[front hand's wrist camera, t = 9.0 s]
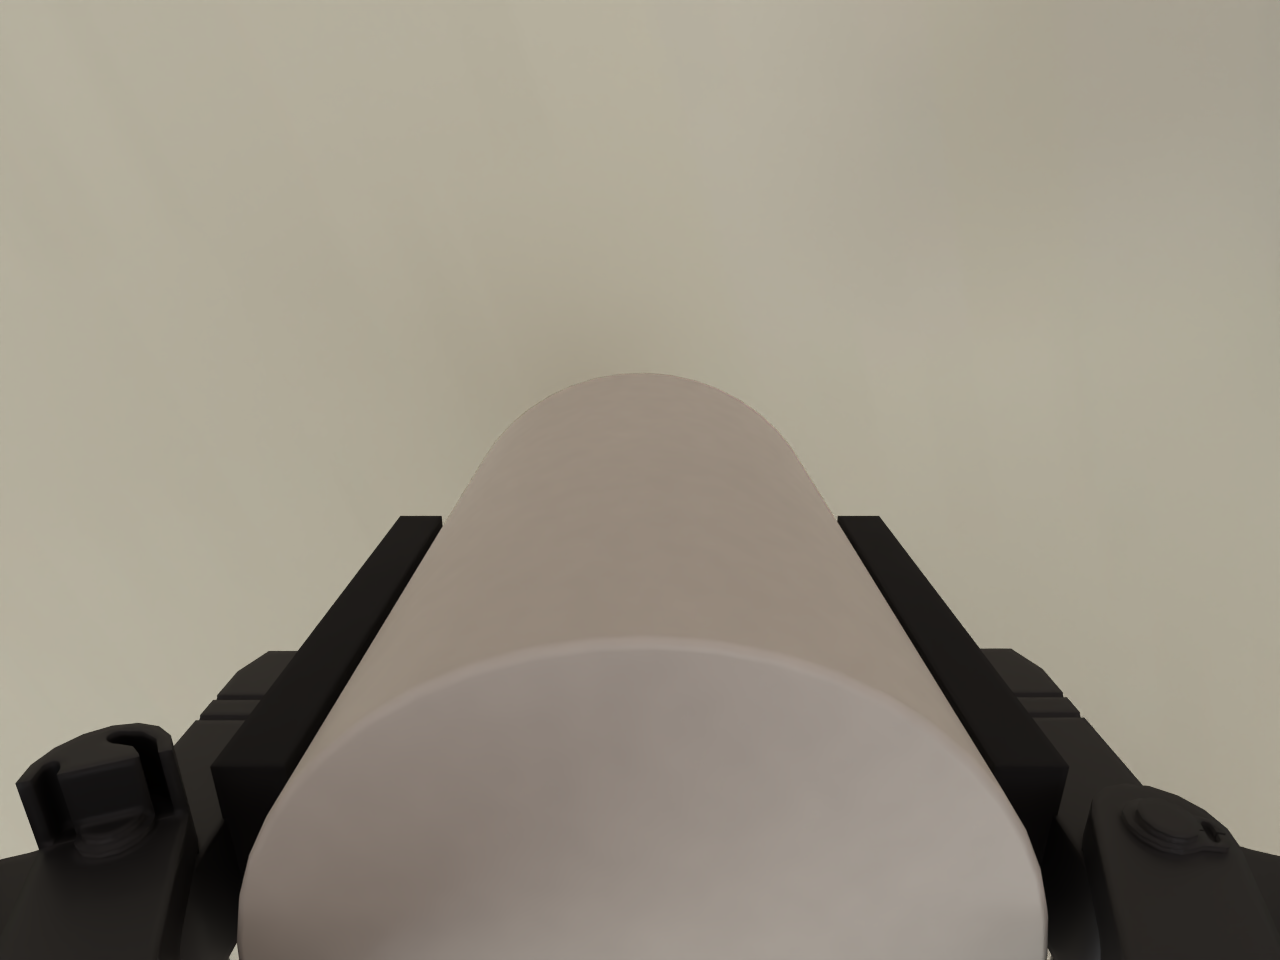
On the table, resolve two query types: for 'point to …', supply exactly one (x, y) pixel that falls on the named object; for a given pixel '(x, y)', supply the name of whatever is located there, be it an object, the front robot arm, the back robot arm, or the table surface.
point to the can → (642, 727)
